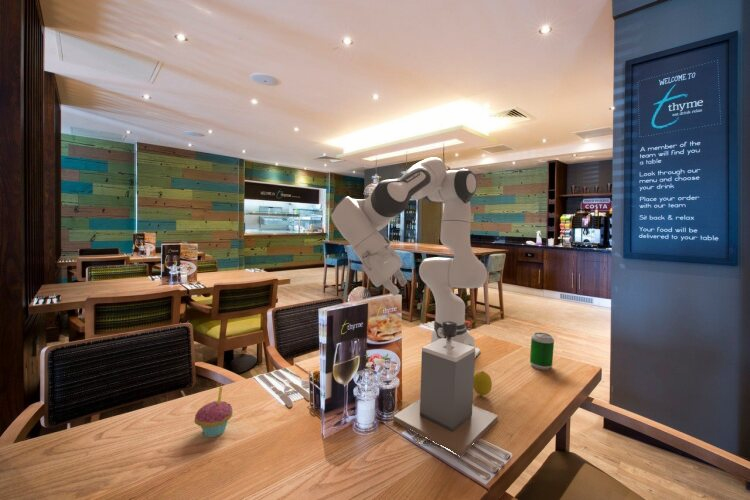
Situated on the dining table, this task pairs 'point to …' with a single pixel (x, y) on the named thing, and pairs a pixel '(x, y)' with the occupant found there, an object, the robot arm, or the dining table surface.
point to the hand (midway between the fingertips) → (401, 289)
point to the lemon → (482, 383)
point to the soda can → (541, 351)
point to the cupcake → (214, 416)
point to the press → (447, 399)
